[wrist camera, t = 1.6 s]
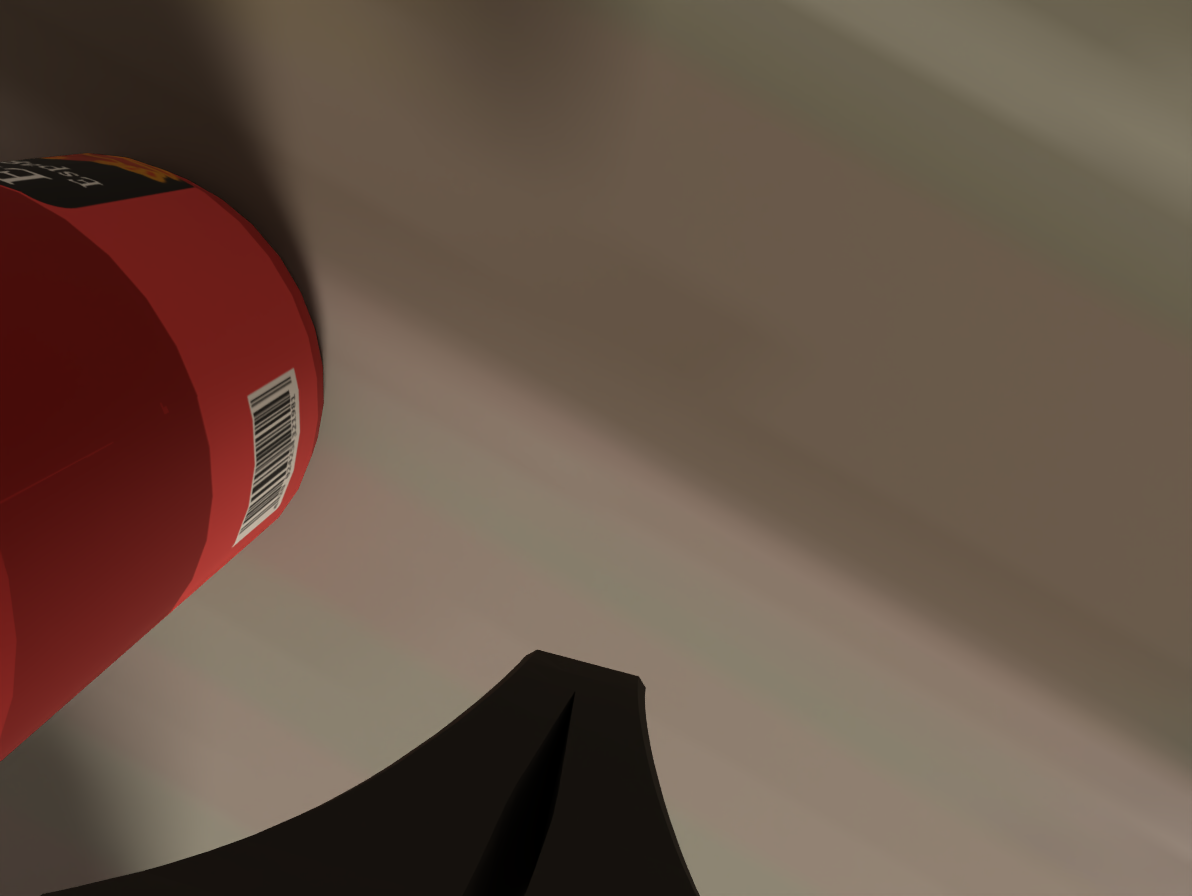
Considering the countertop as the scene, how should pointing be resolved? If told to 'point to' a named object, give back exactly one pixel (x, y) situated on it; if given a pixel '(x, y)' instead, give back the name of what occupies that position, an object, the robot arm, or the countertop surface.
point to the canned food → (132, 411)
